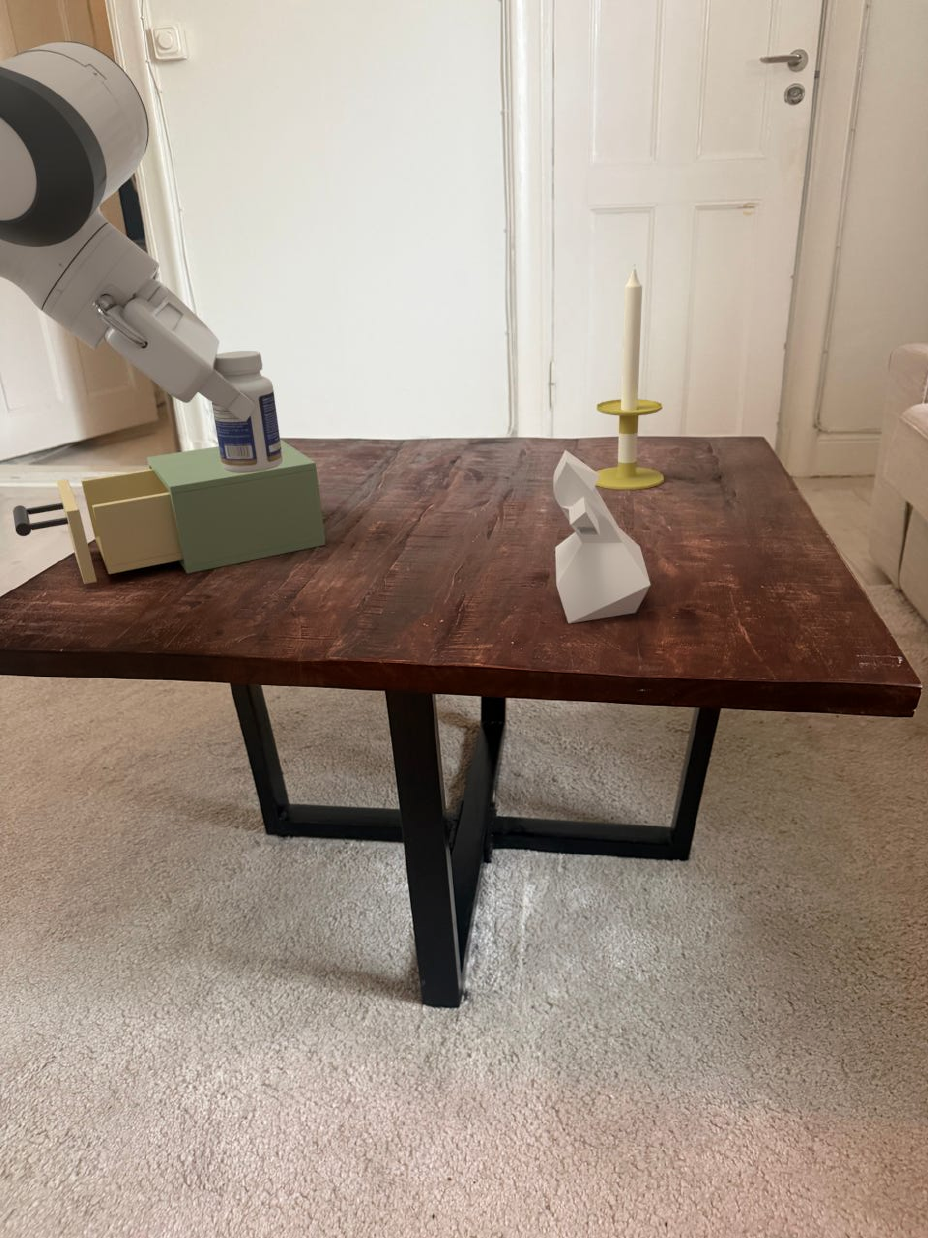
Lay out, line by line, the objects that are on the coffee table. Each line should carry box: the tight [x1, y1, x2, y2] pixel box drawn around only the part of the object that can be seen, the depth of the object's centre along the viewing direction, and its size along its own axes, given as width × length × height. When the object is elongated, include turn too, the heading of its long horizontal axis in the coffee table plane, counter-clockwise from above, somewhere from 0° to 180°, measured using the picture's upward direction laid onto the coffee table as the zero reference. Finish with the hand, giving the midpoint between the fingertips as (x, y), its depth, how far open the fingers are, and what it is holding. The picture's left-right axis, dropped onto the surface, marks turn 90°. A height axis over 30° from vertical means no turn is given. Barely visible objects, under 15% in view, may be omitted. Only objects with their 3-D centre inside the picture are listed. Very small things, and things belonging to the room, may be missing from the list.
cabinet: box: [146, 438, 326, 574], centre depth 99 cm, size 16×15×10 cm
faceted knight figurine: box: [552, 449, 651, 624], centre depth 79 cm, size 8×14×14 cm, turn 175°
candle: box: [595, 263, 665, 491], centre depth 111 cm, size 10×10×27 cm
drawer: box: [12, 468, 183, 585], centre depth 94 cm, size 19×13×8 cm
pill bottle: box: [210, 350, 282, 473], centre depth 76 cm, size 5×5×10 cm
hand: (250, 405), depth 75 cm, fingers closed on pill bottle, 5 cm apart
